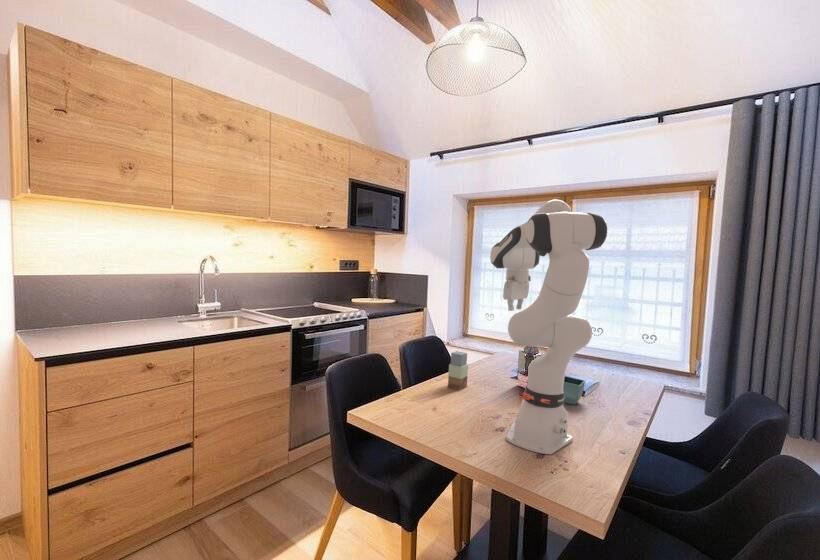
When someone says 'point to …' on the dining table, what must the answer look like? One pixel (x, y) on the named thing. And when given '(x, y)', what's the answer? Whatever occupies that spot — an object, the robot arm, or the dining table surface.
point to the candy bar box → (523, 360)
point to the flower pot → (573, 389)
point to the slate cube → (458, 358)
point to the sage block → (458, 371)
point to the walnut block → (457, 383)
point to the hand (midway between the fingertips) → (514, 310)
